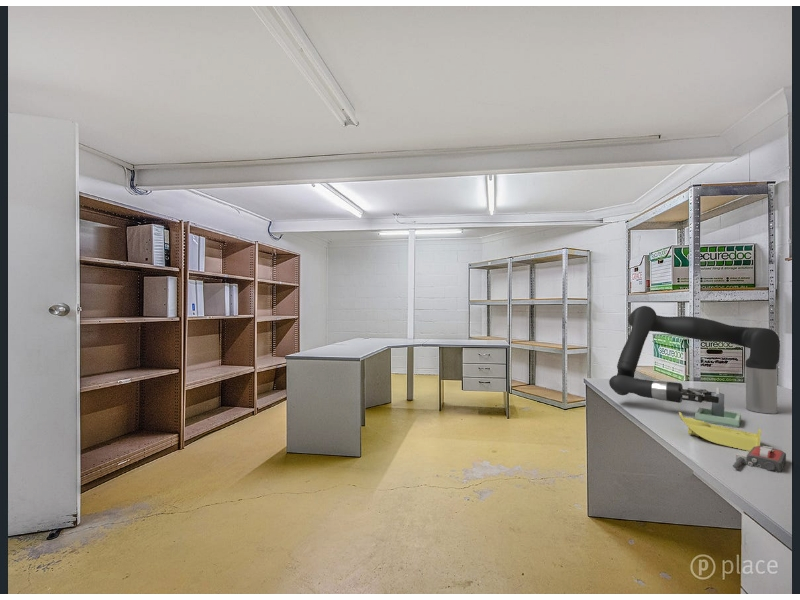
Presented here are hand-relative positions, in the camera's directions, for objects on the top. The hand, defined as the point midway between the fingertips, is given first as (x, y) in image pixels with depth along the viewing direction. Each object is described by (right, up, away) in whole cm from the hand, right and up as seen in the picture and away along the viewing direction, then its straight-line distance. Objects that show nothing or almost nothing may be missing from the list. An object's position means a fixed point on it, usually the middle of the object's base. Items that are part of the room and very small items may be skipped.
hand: (720, 398), depth 142 cm
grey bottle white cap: (0, -8, 0) cm, 8 cm away
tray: (0, -8, 0) cm, 8 cm away
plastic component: (-18, -8, -21) cm, 28 cm away
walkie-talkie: (-23, -8, -40) cm, 47 cm away
